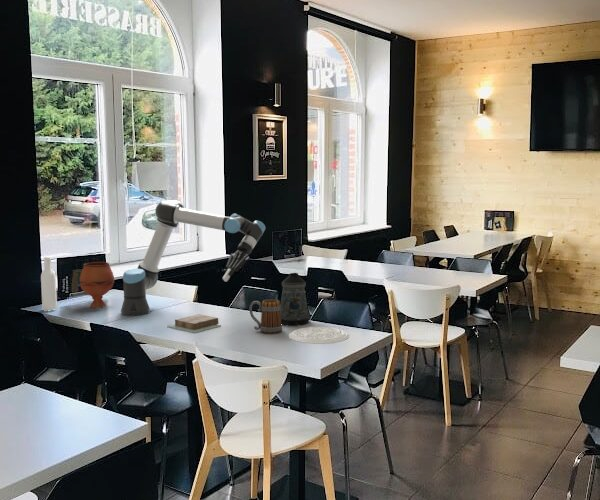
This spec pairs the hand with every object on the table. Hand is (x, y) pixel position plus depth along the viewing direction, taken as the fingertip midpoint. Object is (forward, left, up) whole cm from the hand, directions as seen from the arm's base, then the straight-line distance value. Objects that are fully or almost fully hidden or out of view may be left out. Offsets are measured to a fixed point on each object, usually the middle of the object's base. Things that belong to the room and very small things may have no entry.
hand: (224, 279), depth 338 cm
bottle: (-93, -45, -21) cm, 105 cm away
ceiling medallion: (+61, +1, -21) cm, 65 cm away
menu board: (+1, -13, -18) cm, 22 cm away
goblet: (-81, -22, -21) cm, 86 cm away
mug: (+36, -8, -21) cm, 42 cm away
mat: (+1, -23, -20) cm, 30 cm away
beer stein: (+33, +16, -21) cm, 42 cm away
